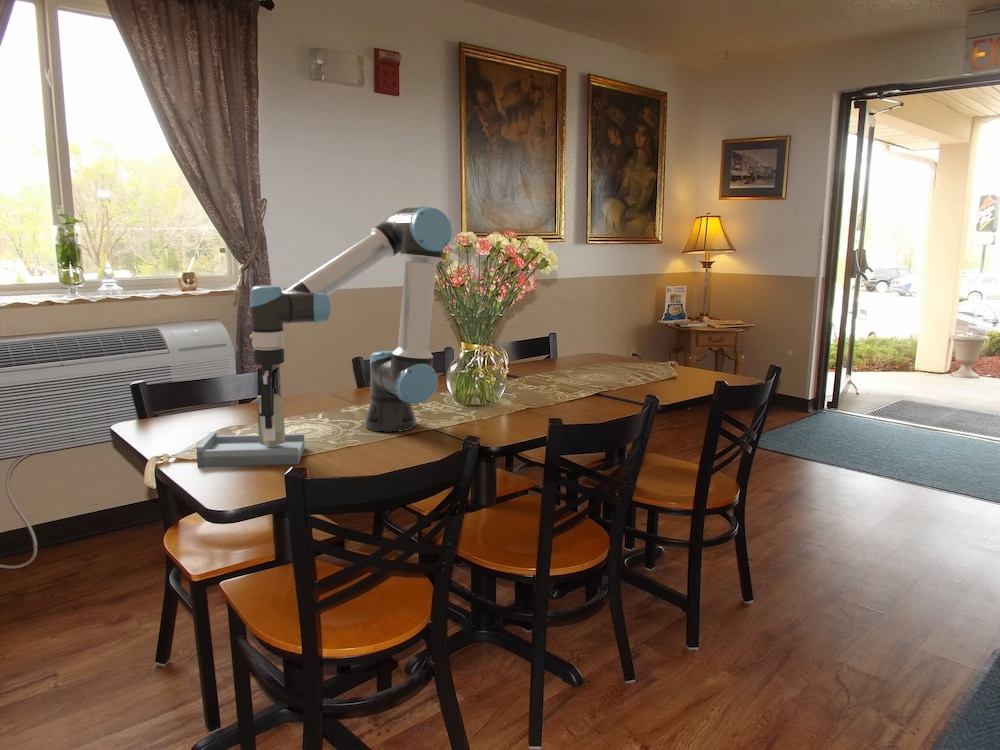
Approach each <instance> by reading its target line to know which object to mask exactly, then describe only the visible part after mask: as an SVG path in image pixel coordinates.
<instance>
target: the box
mask: <svg viewBox="0 0 1000 750" xmlns="http://www.w3.org/2000/svg"><path fill="white" fill-rule="evenodd" d="M256 408H257V424H258V435H259V444H261V445H264V446H267V447H271V446H275V445H280V444H283V443H285V434H286V433H285V428H286V427H285V416H284V415H285V413H284V396H283V394H280V393H279V394H275V393H274V415H275V434H276V440H275V441H264V426H263V416H260V414H261V395H256Z"/></svg>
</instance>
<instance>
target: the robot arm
mask: <svg viewBox="0 0 1000 750" xmlns="http://www.w3.org/2000/svg"><path fill="white" fill-rule="evenodd" d="M452 227H453V226H452V224H451V220H450V219H449V218H448V216H447V215H446V214H445V212H443V211H442V210H440V209H438V208H437V207H431V206H421V207H420V206H419V207H418V206H417V207H406V208H402V209H400V210H398V211H396V212H395V213H393V214H392V215H390V216H389V217H387V218H386V219H384V220H383V221H381V222H380V223H379V224H377V225H376V226H374V227H373V228H371V231H370V234H369V235H368V236H366V237H364V238H363V239H361V240H360V241H358V242H357V243H355V244H354V245H351V247H349V248H348V249H346V250H344V251H342V253H340V254H338V255H337V256H335V257H333V258H332V259H331V260H329V261H328V262H326V263H325V264H323V265H322V266H320V267H319V268H317V269H315V270H314V271H312V272H311V273H309V274H308V275H307V276H306V275H305V277H303V278H302V279H300V280H299V281H297V282H296V283H295V284H292V286H290V287H286V288H283V289H282V287H281V286H280V285H255V286H252V288H251V289H250V296H249V299H250V300H249V307H250V319H251V320H250V321H251V334H250V335H249V339H252V341H251V342H252V347H253V350H252V362H253V364H255V365H257V366H262V369H261V371H260V372H259V382H260V383H259V384H260V396H261V414H260V416H263V426H264V441H275V440H276V434H275V415H274V393H275V394H279V395H280V387H279V386H280V385H279V366H277V365H281V364H283V363H285V349H284V348H283V347H284V346H285V337H284V335H285V334H284V324H292V323H293V324H295V323H298V324H299V323H319V322H321V323H322V322H327V320H329V318H330V316H331V311H332V309H331V306H332V305H331V301H330V297H329V296H330V295H331V294H333V293H334V292H336V291H337V290H339V289H340V288H341V287H344V286H345V285H346V284H347V283H350V282H351V281H352V280H353V279H355V278H357V277H358V276H360V275H361V274H362V273H364V272H365V271H368V269H371V268H372V267H373V266H375V265H376V264H377V263H379V262H380V261H383V259H385V258H393V257H394V256H395V255H398V254H399V253H400V257H402V258H403V260H404V263H405V264H404V273H403V285H402V295H401V309H400V320H399V330H398V333H399V334H398V343H397V348H395V349H394V350H385V351H383V350H382V351H375V352H372V353H371V354H370V358H369V359H370V360H369V373H370V375H369V377H370V378H369V381H370V383H369V385H370V403H369V405H368V410H367V413H366V415H365V419H364V422H365V423H364V426H365V429H367V430H370V431H373V432H378V431H385V432H384V433H393V432H392V431H399V430H405V429H409V428H411V427H413V426H415V424H416V422H417V421H416V416H415V412H414V409H413V407H412V404H413V405H416V404H417V405H418V404H421V403H425V402H427V401H428V400H429V399H430V398H432V396H433V395H434V393H436V390H437V387H438V381H439V380H438V379H439V378H438V374H437V372H436V370H435V369H434V367H433V364H434V363H433V362H434V355H433V354H432V352H431V351H430V350H429V347H430V346H429V345H430V336H431V335H430V334H431V323H432V315H433V313H432V312H433V306H434V305H433V303H434V293H435V281H436V273H437V265H438V263H440V262H441V261H443V256H444V249H445V248H446V247H447V245H449V244H450V242H451V239H452V236H453V228H452ZM415 427H416V426H415Z"/></svg>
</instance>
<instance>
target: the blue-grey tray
mask: <svg viewBox="0 0 1000 750" xmlns="http://www.w3.org/2000/svg"><path fill="white" fill-rule="evenodd" d="M305 444H306V443H305V433H285V443H283V444H280V445H275V446H271V447H267V446H264V445H261V444H259V434H235V435H234V434H233V435H232V434H231V435H230V434H228V435H222V434H221V435H217V432H216V431H210V432H209V433H207V435H206V436H205V437H204V438H203V439H202V440H201V441H200V442H199V444H198V445H197V446H196V450H195V451H196V462H197V463H196V464H197V468H209V467H210V468H211V467H212V468H213V467H240V466H241V467H245V466H271V465H272V466H279V465H283V466H284V465H299V463H300V462H301V458H302V455H303V453H304V451H305V448H306V447H305Z"/></svg>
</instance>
